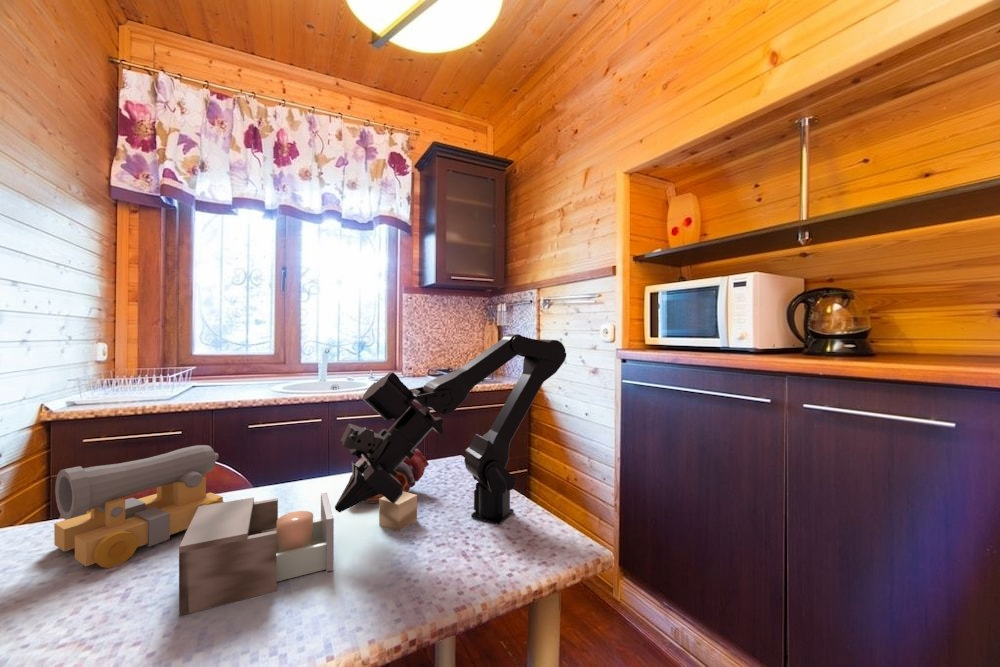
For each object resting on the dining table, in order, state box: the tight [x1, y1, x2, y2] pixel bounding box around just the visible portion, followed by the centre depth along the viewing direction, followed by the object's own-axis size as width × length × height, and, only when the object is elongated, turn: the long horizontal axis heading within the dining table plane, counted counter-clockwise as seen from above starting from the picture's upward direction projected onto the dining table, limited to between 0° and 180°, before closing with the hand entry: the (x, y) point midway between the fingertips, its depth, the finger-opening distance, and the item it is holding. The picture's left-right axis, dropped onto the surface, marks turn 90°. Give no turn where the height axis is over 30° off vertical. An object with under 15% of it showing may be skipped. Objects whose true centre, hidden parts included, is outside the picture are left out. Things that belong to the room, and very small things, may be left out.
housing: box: [178, 497, 279, 617], centre depth 61 cm, size 11×14×9 cm
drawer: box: [261, 492, 335, 583], centre depth 65 cm, size 10×11×8 cm
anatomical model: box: [349, 448, 430, 504], centre depth 90 cm, size 11×13×15 cm
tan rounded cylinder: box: [277, 510, 314, 553], centre depth 65 cm, size 5×5×6 cm
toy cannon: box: [53, 444, 224, 569], centre depth 74 cm, size 16×22×15 cm
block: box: [378, 491, 418, 532], centre depth 78 cm, size 5×5×5 cm
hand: (336, 510), depth 67 cm, fingers closed
